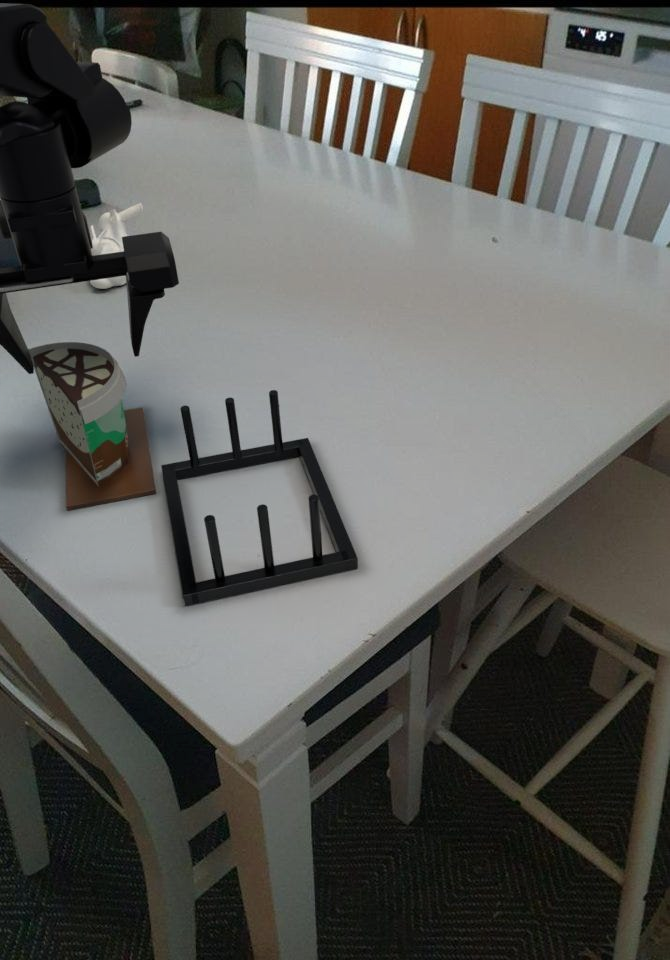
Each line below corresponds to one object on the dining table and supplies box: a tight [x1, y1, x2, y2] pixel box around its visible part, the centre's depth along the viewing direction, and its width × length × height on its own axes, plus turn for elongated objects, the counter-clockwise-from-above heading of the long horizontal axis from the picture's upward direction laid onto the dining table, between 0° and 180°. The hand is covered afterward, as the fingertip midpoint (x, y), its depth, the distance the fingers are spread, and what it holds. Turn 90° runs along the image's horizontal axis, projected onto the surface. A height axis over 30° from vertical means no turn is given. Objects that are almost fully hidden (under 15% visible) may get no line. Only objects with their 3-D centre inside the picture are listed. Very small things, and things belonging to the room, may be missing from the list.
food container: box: [28, 341, 130, 487], centre depth 76 cm, size 12×6×10 cm, turn 37°
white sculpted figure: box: [89, 202, 144, 290], centre depth 107 cm, size 12×8×10 cm, turn 167°
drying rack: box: [160, 389, 359, 607], centre depth 69 cm, size 14×17×8 cm
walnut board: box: [64, 407, 157, 511], centre depth 79 cm, size 8×14×1 cm, turn 15°
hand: (84, 362), depth 72 cm, fingers open, 9 cm apart
